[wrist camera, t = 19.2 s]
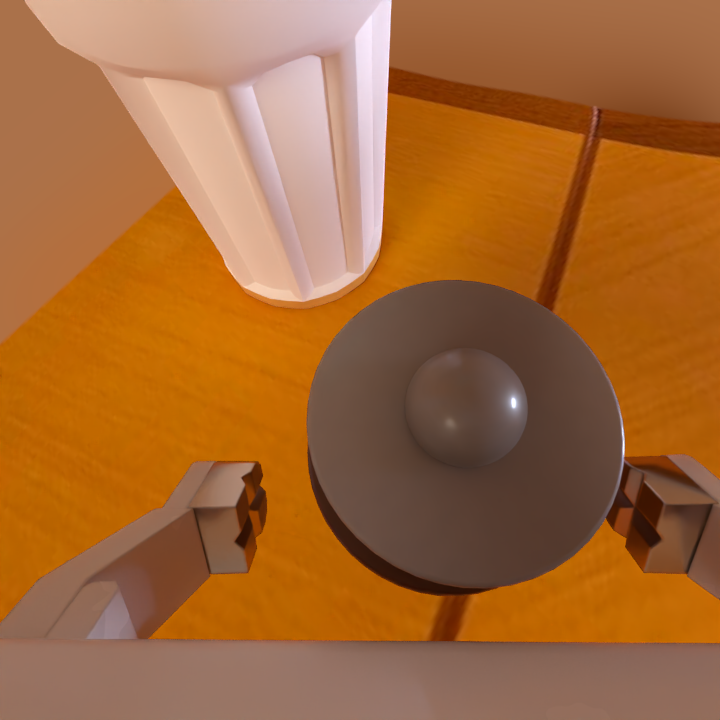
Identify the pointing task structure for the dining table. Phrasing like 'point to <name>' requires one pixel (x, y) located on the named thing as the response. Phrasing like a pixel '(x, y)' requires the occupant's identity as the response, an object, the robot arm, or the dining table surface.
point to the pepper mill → (462, 438)
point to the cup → (257, 124)
